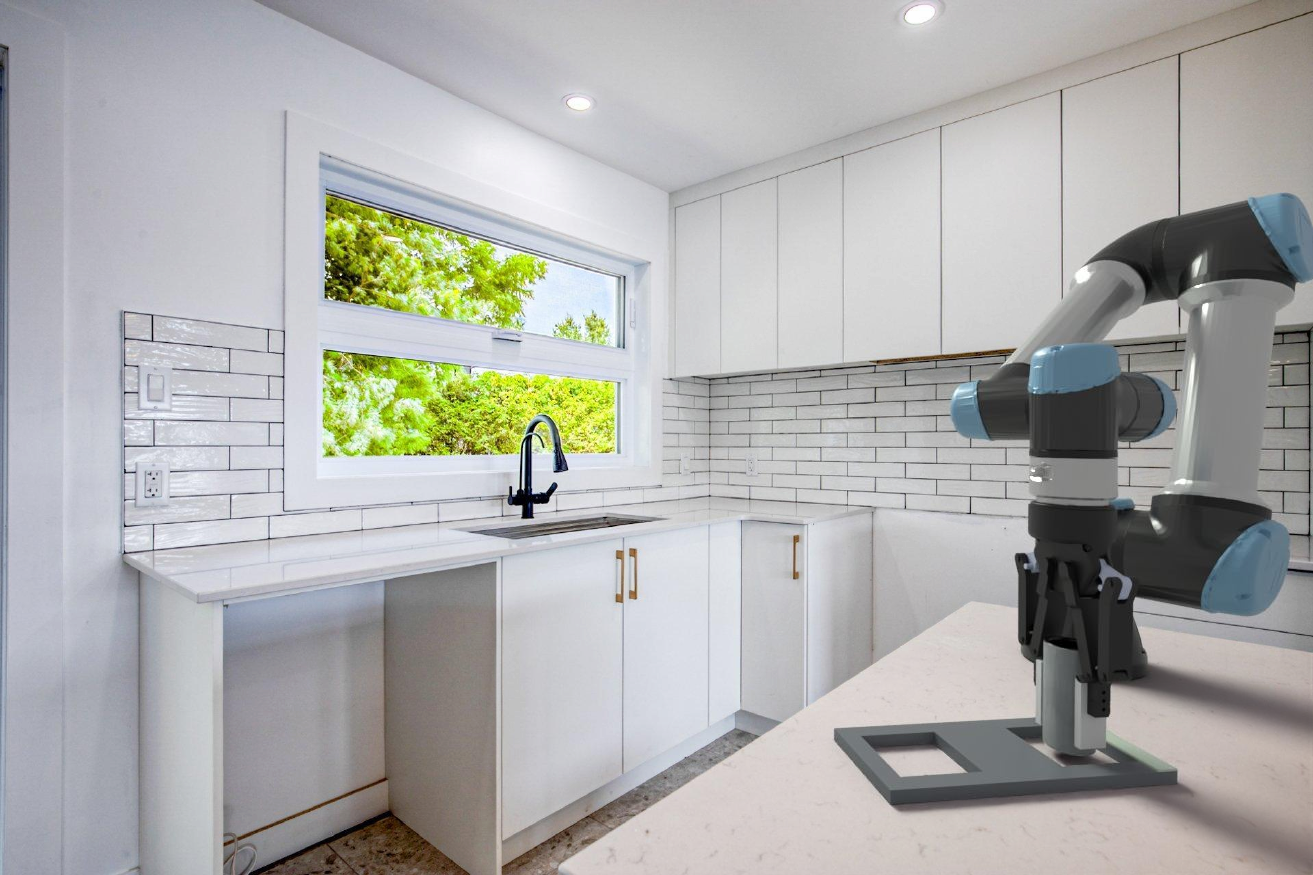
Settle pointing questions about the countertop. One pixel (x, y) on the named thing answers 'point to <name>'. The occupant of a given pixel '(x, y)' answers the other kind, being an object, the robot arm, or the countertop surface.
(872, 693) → the countertop surface
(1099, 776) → the panel
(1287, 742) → the countertop surface
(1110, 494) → the robot arm
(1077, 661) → the grey hollow cylinder
